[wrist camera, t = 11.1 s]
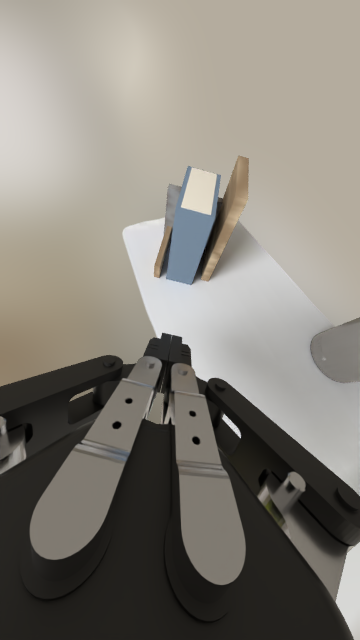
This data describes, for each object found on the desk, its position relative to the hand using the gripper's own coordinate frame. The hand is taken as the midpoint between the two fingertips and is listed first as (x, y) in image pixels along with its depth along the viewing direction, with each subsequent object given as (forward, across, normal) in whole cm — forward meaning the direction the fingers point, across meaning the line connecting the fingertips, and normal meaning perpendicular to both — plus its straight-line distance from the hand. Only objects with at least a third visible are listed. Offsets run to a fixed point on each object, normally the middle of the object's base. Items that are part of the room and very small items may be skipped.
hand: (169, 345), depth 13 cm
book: (+27, 0, -5) cm, 27 cm away
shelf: (+27, 0, -6) cm, 28 cm away
